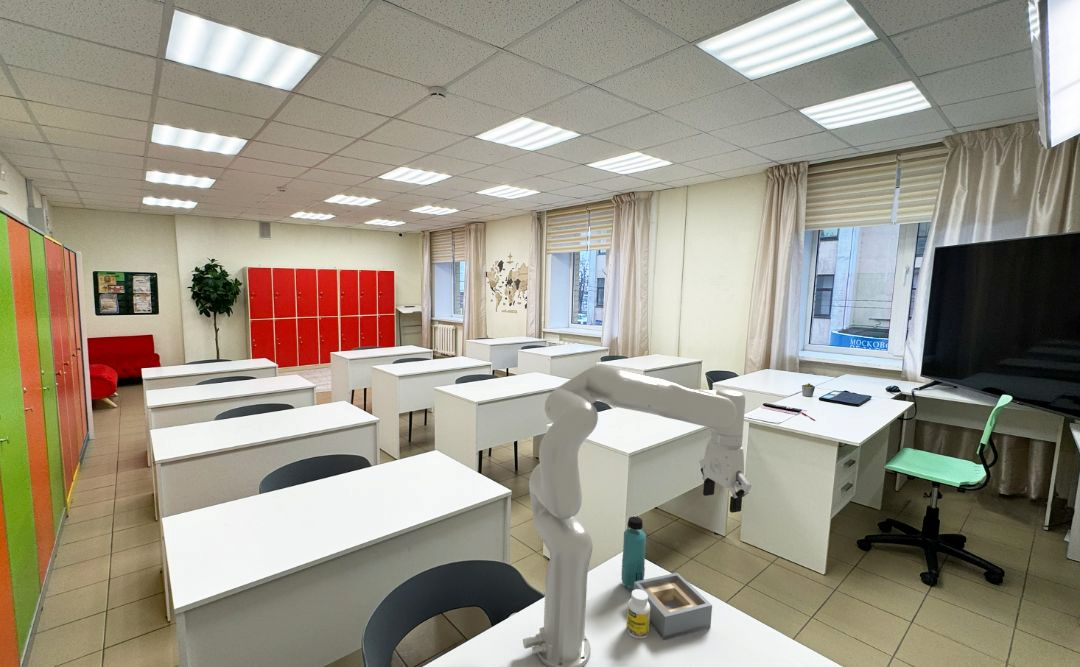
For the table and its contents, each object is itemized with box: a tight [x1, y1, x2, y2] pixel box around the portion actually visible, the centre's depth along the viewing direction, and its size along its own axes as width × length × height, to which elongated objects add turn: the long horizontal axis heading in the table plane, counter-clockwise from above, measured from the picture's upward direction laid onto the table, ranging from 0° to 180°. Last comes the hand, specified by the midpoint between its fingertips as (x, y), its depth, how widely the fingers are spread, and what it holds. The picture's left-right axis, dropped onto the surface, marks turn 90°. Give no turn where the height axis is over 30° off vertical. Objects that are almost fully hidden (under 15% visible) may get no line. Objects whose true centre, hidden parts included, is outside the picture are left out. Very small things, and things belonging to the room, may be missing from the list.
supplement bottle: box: [626, 589, 650, 639], centre depth 114 cm, size 5×5×10 cm
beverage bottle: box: [620, 516, 647, 589], centre depth 131 cm, size 6×7×20 cm
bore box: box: [633, 572, 713, 641], centre depth 120 cm, size 14×14×6 cm
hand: (721, 502), depth 119 cm, fingers open, 9 cm apart
